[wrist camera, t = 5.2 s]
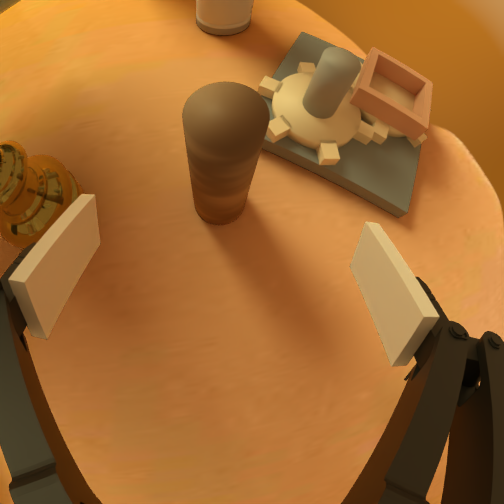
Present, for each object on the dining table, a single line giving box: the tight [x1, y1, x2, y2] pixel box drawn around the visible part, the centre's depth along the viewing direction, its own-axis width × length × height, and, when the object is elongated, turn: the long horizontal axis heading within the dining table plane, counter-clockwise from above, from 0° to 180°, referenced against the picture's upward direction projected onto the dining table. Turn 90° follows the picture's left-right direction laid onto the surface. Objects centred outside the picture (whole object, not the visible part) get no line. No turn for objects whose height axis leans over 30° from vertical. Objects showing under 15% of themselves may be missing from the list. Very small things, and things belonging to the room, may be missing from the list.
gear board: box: [257, 32, 433, 218], centre depth 24 cm, size 16×16×9 cm
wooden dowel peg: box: [182, 82, 270, 225], centre depth 19 cm, size 4×4×12 cm
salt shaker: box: [0, 141, 85, 249], centre depth 18 cm, size 7×8×10 cm
